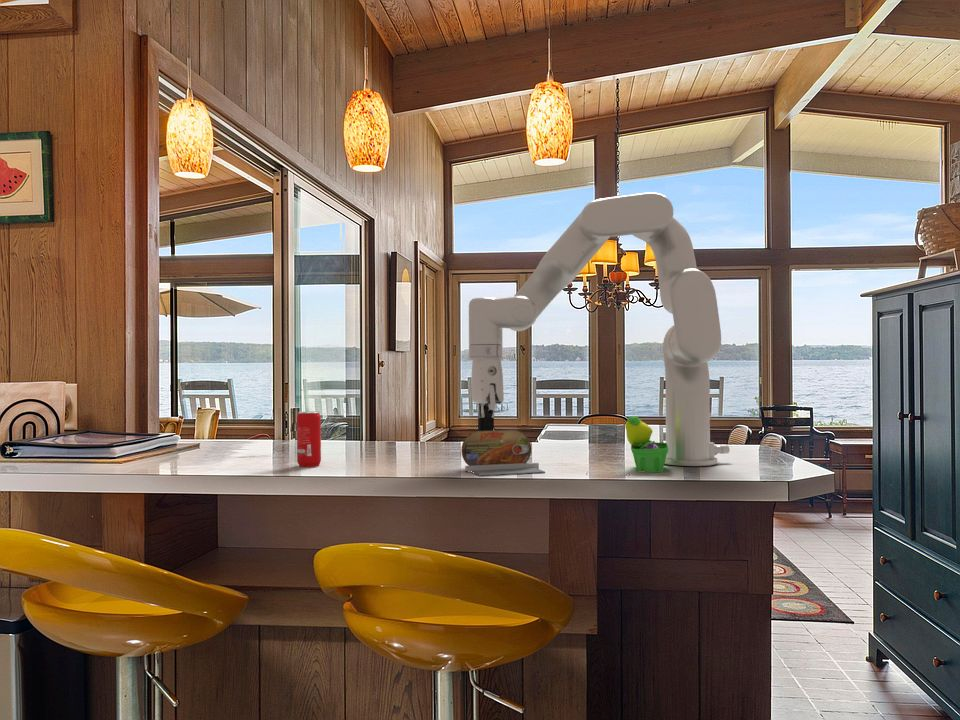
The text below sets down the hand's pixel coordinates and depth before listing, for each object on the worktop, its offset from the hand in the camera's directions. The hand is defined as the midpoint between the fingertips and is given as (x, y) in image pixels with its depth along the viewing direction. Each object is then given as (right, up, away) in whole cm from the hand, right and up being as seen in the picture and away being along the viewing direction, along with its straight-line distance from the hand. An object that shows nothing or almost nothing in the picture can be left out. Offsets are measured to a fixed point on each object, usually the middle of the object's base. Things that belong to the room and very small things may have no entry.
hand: (486, 435), depth 172 cm
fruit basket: (+34, -7, -9) cm, 36 cm away
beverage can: (-39, -7, 0) cm, 40 cm away
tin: (+2, -7, -7) cm, 10 cm away
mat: (+4, -7, -12) cm, 15 cm away
